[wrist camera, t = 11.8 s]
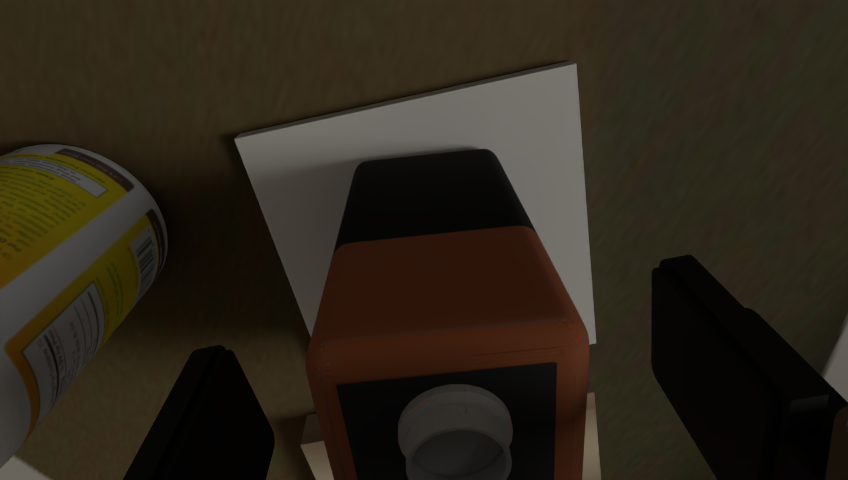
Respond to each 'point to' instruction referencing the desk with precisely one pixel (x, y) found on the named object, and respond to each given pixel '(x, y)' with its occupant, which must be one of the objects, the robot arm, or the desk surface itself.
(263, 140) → the ceramic pad
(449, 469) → the battery
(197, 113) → the desk surface
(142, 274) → the supplement bottle
